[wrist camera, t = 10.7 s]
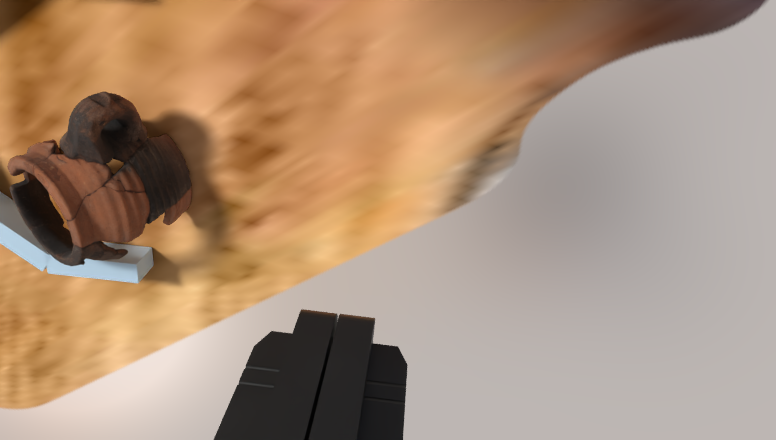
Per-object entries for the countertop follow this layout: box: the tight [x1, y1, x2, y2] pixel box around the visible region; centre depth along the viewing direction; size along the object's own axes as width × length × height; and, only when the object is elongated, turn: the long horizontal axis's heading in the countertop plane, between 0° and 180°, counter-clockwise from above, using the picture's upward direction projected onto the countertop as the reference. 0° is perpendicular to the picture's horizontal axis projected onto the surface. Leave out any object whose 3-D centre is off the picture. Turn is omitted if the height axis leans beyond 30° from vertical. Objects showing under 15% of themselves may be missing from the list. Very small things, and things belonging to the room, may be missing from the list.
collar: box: [0, 192, 154, 283], centre depth 38 cm, size 14×21×2 cm
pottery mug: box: [8, 92, 192, 266], centre depth 38 cm, size 12×10×8 cm
